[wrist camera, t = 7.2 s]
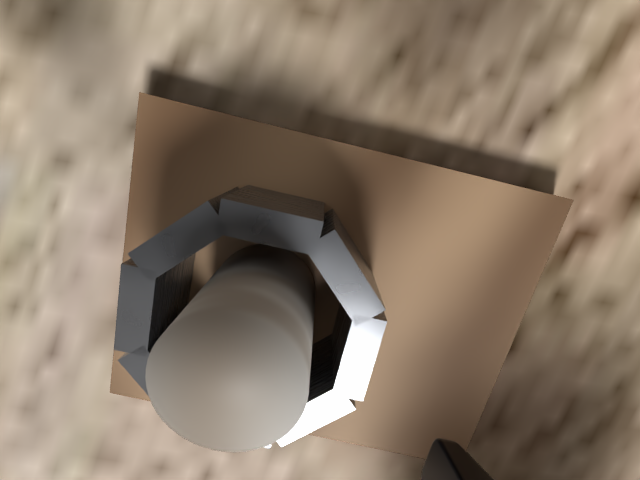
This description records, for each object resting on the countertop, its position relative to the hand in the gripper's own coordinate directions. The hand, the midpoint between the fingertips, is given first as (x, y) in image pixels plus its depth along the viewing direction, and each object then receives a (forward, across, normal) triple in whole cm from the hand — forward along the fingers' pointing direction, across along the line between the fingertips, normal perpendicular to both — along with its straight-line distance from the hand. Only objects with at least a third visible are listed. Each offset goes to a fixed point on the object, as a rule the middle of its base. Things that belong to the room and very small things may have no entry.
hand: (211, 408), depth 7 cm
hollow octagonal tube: (+6, 0, 0) cm, 6 cm away
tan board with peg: (+7, -2, 0) cm, 7 cm away
